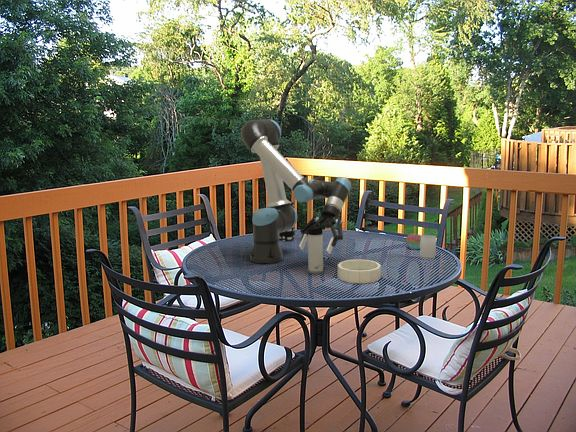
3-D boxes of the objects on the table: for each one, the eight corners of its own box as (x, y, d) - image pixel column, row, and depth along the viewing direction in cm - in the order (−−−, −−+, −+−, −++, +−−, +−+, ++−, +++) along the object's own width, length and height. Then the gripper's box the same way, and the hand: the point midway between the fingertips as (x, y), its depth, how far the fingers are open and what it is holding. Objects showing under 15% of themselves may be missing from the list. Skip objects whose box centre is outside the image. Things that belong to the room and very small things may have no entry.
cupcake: (423, 250, 261) (424, 226, 259) (405, 250, 263) (406, 225, 260) (422, 246, 269) (423, 222, 267) (405, 245, 271) (405, 222, 268)
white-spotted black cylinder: (297, 238, 291) (296, 201, 288) (290, 242, 284) (290, 204, 280) (283, 237, 295) (282, 201, 291) (276, 240, 287) (275, 203, 284)
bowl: (333, 281, 217) (333, 269, 216) (344, 269, 233) (344, 258, 232) (375, 285, 211) (375, 272, 210) (383, 272, 227) (383, 261, 226)
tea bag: (434, 258, 247) (435, 236, 245) (419, 257, 250) (420, 236, 248) (435, 256, 251) (436, 235, 249) (420, 255, 253) (421, 234, 251)
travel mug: (319, 275, 226) (318, 228, 222) (305, 272, 229) (304, 226, 225) (326, 271, 231) (326, 225, 227) (312, 269, 234) (312, 224, 231)
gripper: (360, 216, 231) (343, 258, 222) (311, 211, 246) (293, 251, 236) (354, 206, 226) (336, 249, 217) (305, 201, 240) (286, 241, 231)
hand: (314, 250), depth 227 cm, fingers open, 13 cm apart
